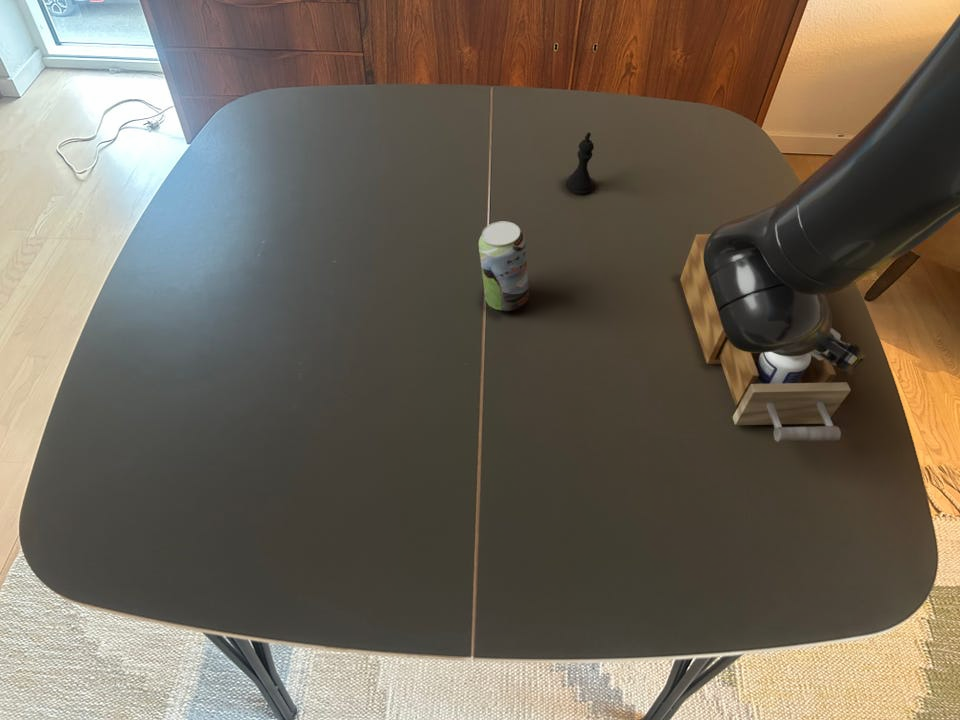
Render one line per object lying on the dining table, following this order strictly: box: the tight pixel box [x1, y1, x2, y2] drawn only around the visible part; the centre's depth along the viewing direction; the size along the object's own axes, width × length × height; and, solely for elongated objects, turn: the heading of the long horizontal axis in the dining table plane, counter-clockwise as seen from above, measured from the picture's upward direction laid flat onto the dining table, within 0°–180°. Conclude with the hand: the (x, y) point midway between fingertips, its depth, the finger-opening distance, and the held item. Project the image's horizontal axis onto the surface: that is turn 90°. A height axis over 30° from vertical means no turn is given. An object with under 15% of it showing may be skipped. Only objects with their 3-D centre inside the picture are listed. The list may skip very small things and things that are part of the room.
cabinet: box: [679, 233, 726, 365], centre depth 95 cm, size 16×13×9 cm
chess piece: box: [565, 131, 595, 196], centre depth 111 cm, size 4×4×10 cm
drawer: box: [718, 336, 852, 443], centre depth 86 cm, size 20×11×7 cm, turn 3°
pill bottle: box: [755, 352, 811, 384], centre depth 85 cm, size 5×5×9 cm
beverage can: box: [478, 220, 530, 312], centre depth 94 cm, size 6×7×12 cm
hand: (803, 333), depth 82 cm, fingers open, 8 cm apart
